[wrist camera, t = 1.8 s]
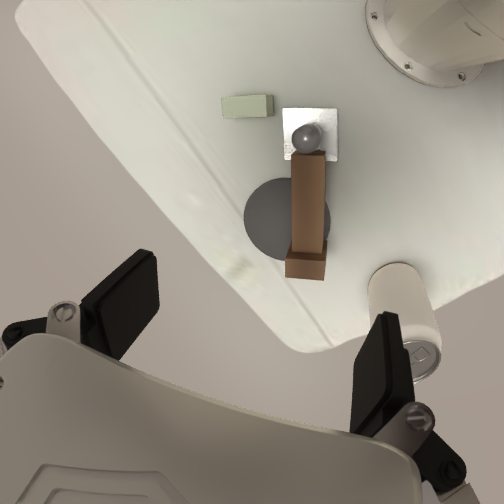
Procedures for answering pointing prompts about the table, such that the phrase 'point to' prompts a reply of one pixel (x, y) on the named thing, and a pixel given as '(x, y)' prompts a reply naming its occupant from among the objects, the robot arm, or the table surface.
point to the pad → (273, 218)
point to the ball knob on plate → (310, 131)
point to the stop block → (247, 106)
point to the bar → (307, 217)
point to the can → (408, 315)
